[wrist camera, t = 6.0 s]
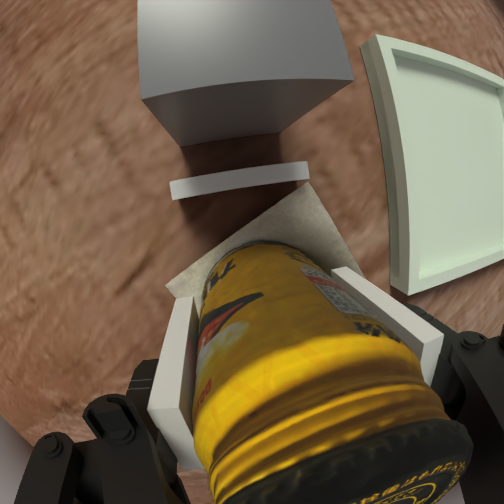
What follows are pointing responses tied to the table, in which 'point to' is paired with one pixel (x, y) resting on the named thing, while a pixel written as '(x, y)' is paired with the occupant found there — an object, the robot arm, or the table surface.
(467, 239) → the tray
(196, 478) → the table surface
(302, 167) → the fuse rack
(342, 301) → the condiment
